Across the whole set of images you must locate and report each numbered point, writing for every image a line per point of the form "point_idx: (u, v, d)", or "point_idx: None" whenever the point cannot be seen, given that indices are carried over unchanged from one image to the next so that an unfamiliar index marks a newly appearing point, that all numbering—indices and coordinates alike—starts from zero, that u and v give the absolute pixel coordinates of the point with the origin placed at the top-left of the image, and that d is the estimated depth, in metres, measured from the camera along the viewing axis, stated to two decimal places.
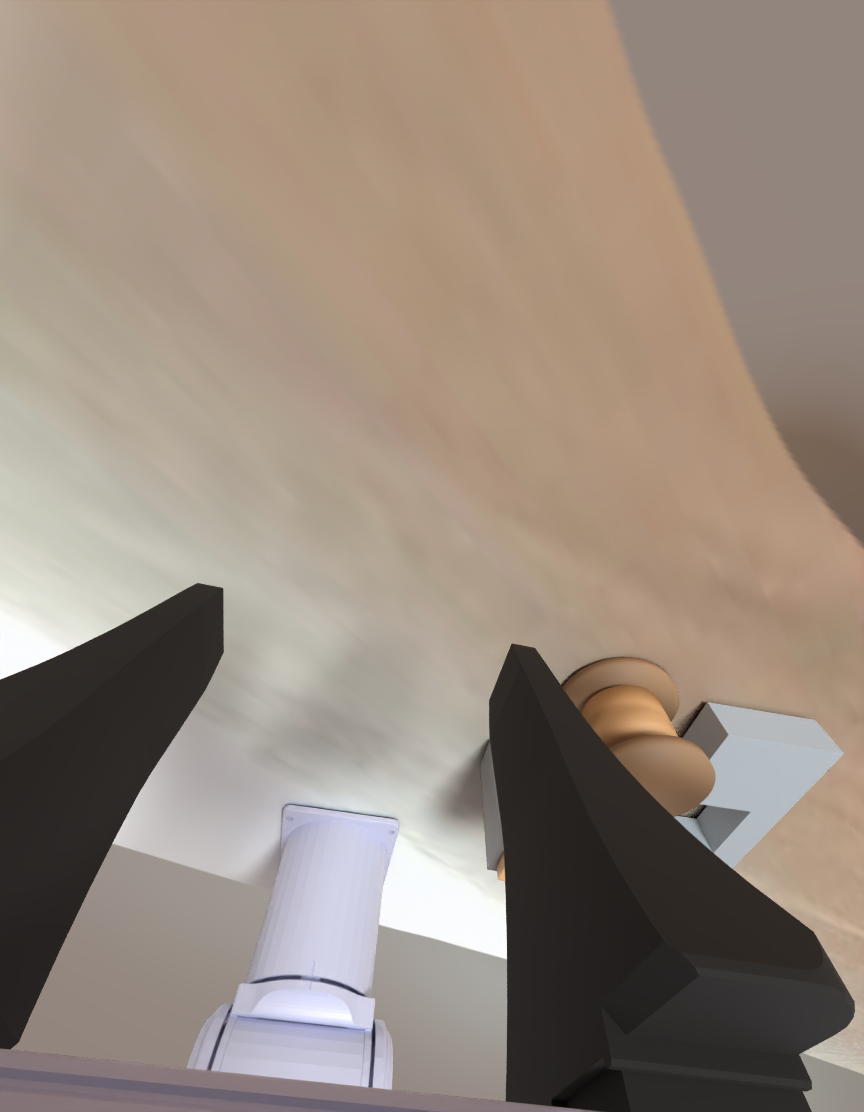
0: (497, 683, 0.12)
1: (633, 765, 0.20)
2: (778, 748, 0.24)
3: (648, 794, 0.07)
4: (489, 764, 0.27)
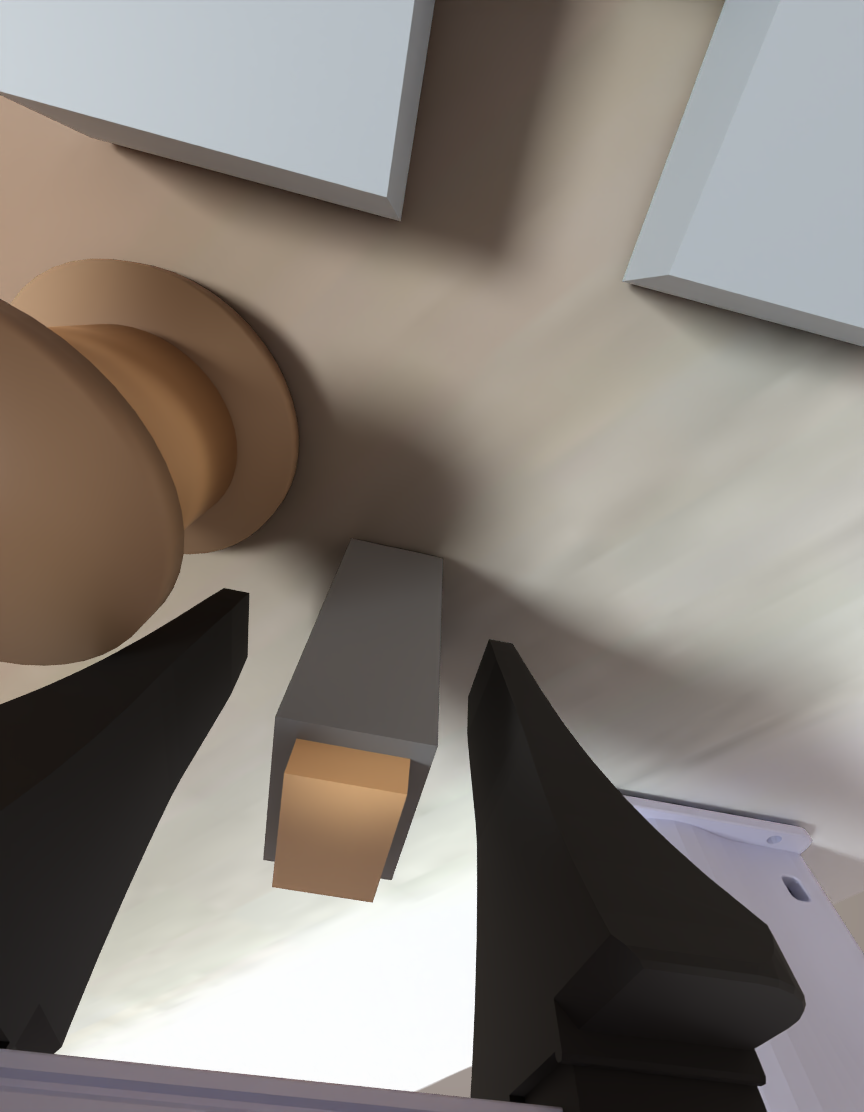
0: (475, 679, 0.12)
1: None
2: None
3: (614, 788, 0.07)
4: None
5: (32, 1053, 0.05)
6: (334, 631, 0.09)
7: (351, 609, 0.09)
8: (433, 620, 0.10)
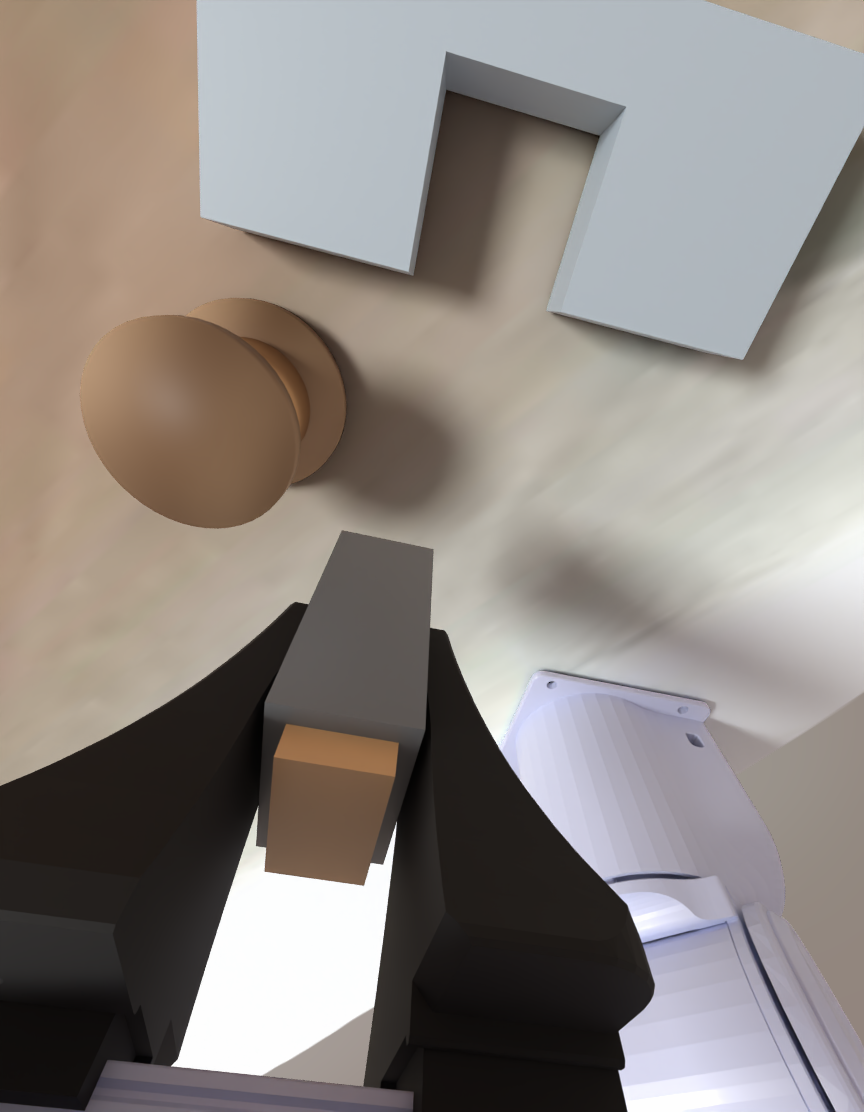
0: None
1: (147, 472, 0.13)
2: (215, 67, 0.11)
3: (510, 771, 0.07)
4: None
5: None
6: (324, 620, 0.09)
7: (341, 599, 0.10)
8: (423, 609, 0.10)
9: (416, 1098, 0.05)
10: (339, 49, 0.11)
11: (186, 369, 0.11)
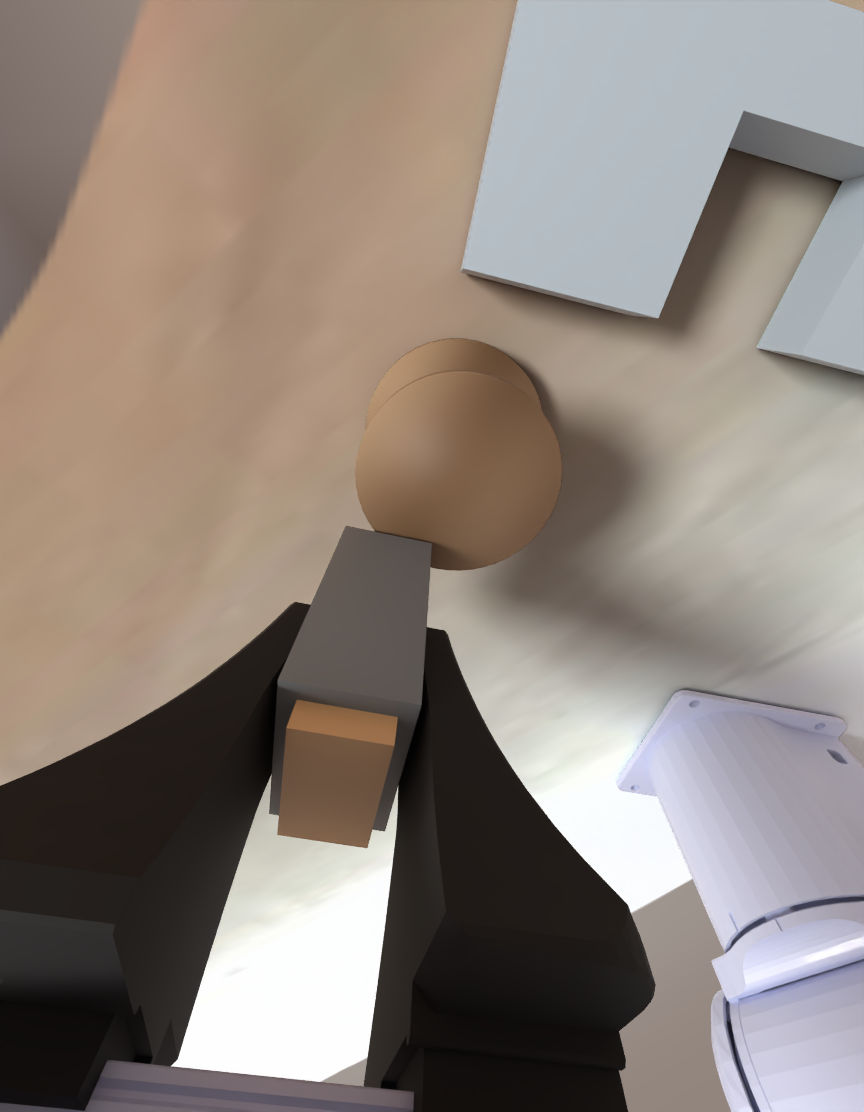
0: None
1: (404, 519, 0.13)
2: (510, 127, 0.11)
3: (511, 771, 0.07)
4: None
5: None
6: (330, 608, 0.10)
7: (345, 589, 0.10)
8: (421, 598, 0.11)
9: (416, 1099, 0.05)
10: (638, 109, 0.11)
11: (472, 422, 0.12)
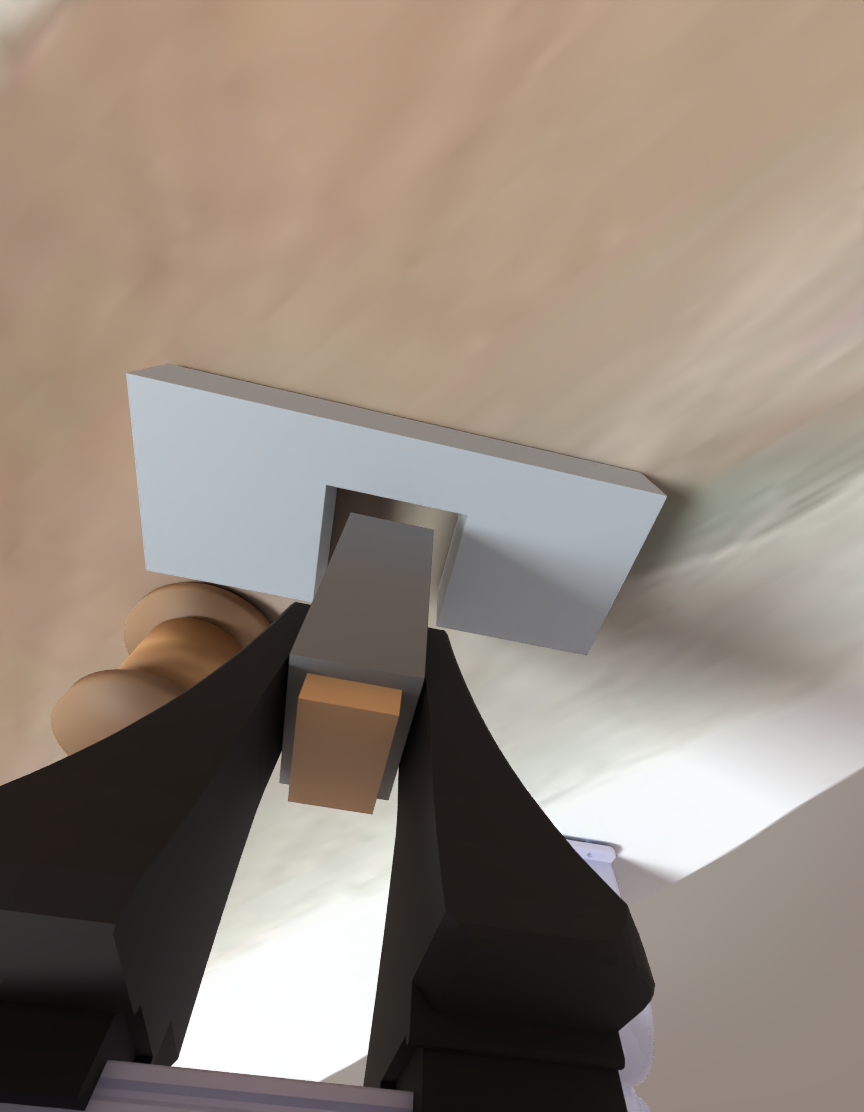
0: None
1: None
2: (151, 490, 0.14)
3: (510, 771, 0.07)
4: None
5: None
6: (337, 589, 0.10)
7: (351, 572, 0.11)
8: (423, 581, 0.11)
9: (415, 1098, 0.05)
10: (244, 482, 0.14)
11: (132, 710, 0.15)
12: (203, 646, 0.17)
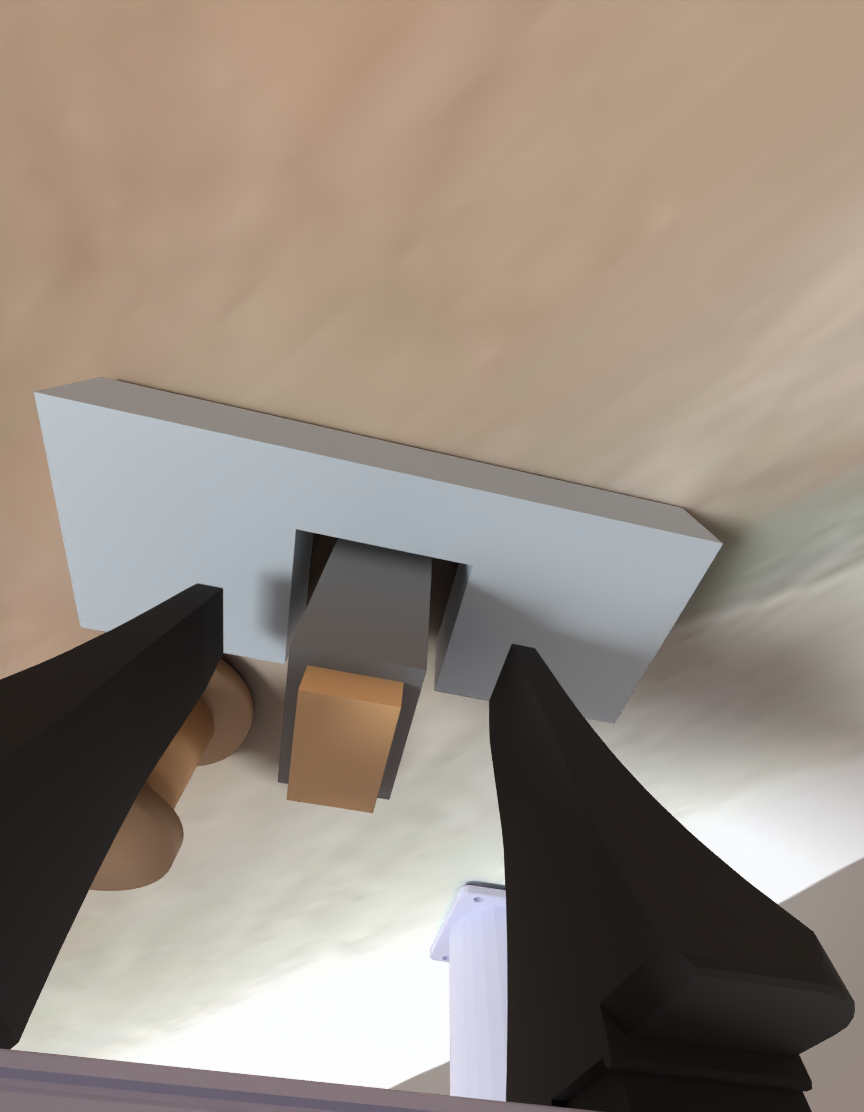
0: (497, 683, 0.12)
1: None
2: (79, 535, 0.11)
3: (648, 794, 0.07)
4: None
5: (32, 1053, 0.05)
6: (337, 583, 0.10)
7: (351, 566, 0.11)
8: (424, 577, 0.11)
9: None
10: (194, 526, 0.11)
11: None
12: None
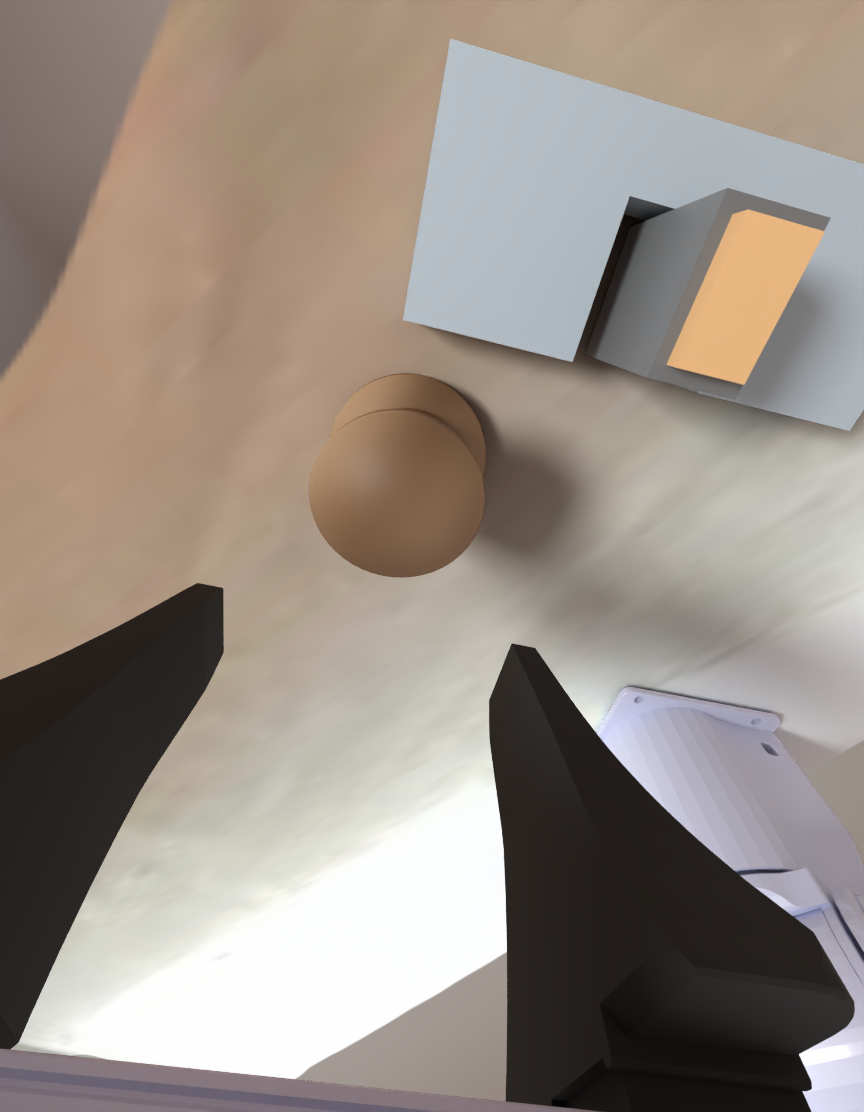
0: (497, 683, 0.12)
1: (353, 533, 0.15)
2: (436, 207, 0.13)
3: (648, 794, 0.07)
4: None
5: (32, 1053, 0.05)
6: None
7: None
8: None
9: None
10: (541, 194, 0.13)
11: (405, 453, 0.14)
12: None
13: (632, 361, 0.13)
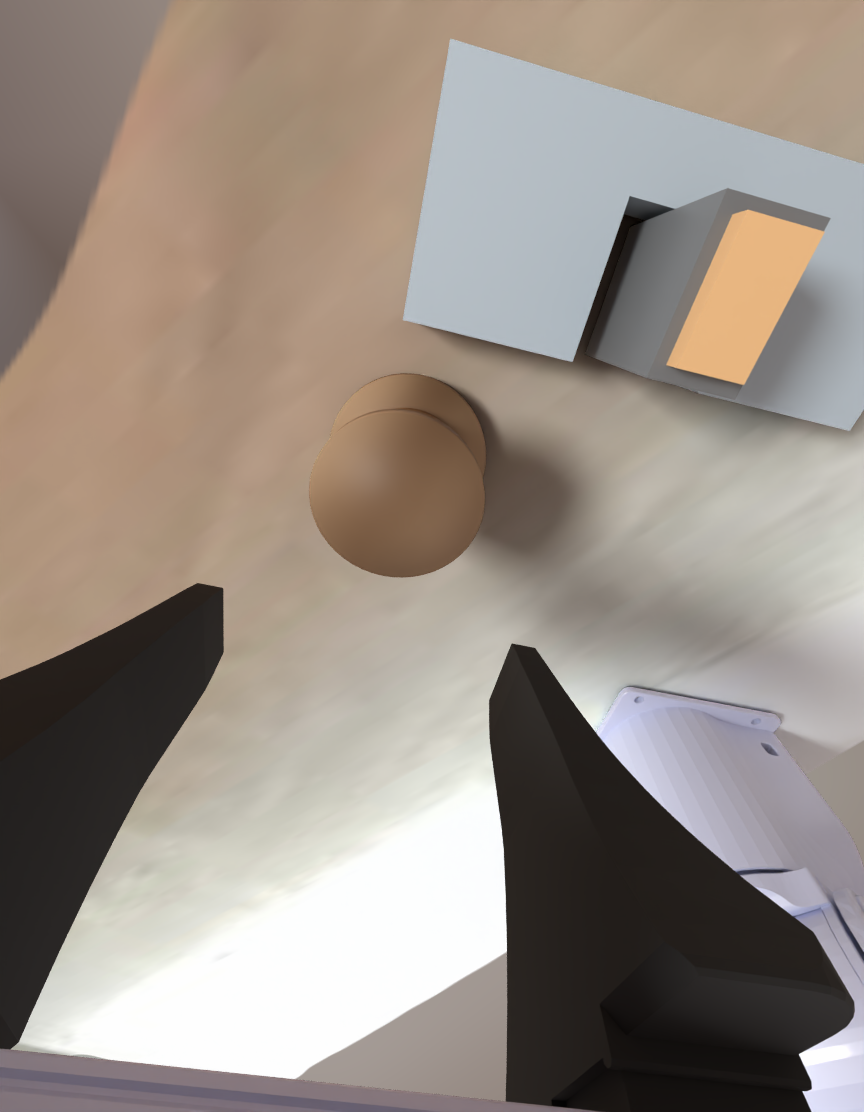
0: (497, 683, 0.12)
1: (353, 533, 0.15)
2: (436, 207, 0.13)
3: (648, 794, 0.07)
4: None
5: (32, 1053, 0.05)
6: None
7: None
8: None
9: None
10: (541, 194, 0.13)
11: (405, 453, 0.14)
12: None
13: (631, 361, 0.13)
